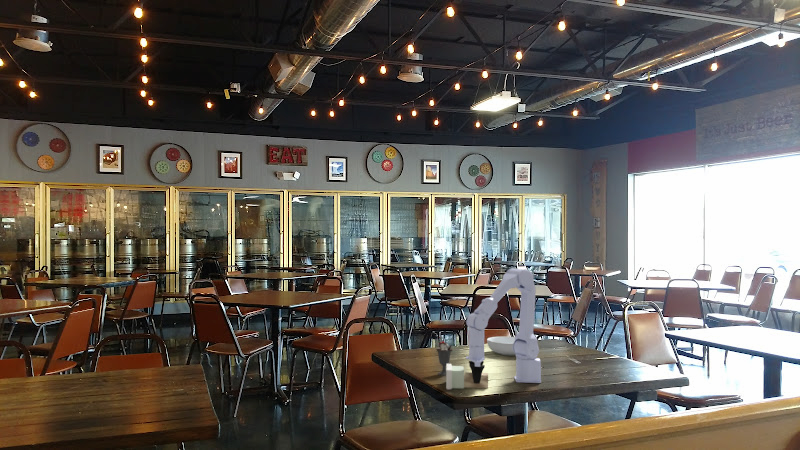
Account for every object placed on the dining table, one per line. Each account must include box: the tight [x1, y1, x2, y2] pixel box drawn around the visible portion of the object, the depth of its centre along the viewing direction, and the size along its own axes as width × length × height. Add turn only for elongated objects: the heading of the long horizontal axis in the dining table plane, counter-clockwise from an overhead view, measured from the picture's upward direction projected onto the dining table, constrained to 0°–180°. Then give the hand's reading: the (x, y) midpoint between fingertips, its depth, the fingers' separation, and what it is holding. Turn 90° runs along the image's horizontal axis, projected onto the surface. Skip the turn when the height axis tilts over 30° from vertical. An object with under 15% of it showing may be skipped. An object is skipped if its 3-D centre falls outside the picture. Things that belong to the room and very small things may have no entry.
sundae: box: [436, 336, 453, 376], centre depth 236 cm, size 7×7×15 cm
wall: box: [445, 363, 453, 390], centre depth 218 cm, size 2×11×7 cm, turn 175°
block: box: [452, 365, 465, 389], centre depth 218 cm, size 4×8×6 cm, turn 175°
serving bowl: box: [486, 336, 516, 357], centre depth 278 cm, size 21×21×7 cm
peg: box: [464, 371, 489, 389], centre depth 217 cm, size 12×4×5 cm, turn 85°
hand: (476, 381), depth 217 cm, fingers closed on peg, 4 cm apart
